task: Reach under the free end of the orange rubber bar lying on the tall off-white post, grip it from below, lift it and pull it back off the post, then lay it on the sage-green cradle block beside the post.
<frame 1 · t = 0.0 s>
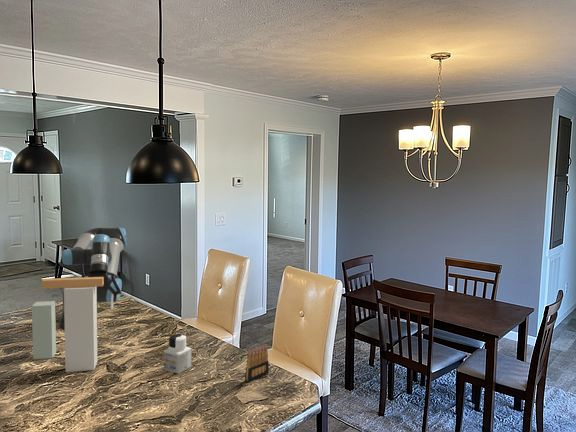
hand: (95, 309, 191), 15 cm above the kitchen island, tool tilted 35°, fingers open, 13 cm apart
bar: (73, 286, 166), point 32 cm above the kitchen island, touching post
post: (82, 366, 169), on the kitchen island
cradle: (44, 355, 178), on the kitchen island
container: (177, 368, 170), on the kitchen island
ammunition clip: (257, 377, 164), on the kitchen island
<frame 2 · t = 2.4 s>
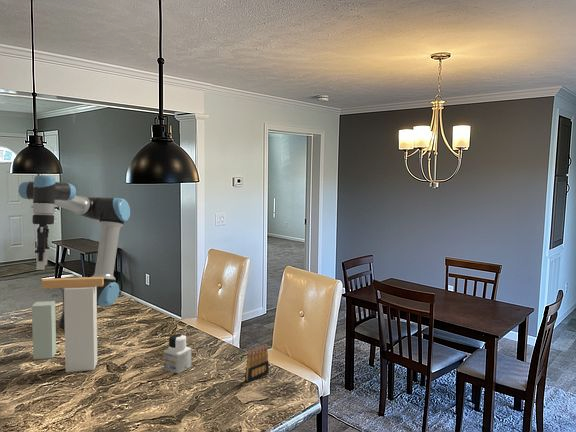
hand: (41, 267, 174), 37 cm above the kitchen island, tool pointing down, fingers open, 13 cm apart
nothing on the kitchen island moved.
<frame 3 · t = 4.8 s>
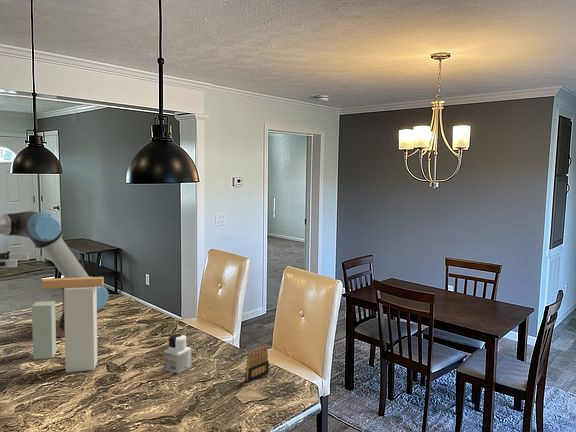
hand: (22, 259, 163), 42 cm above the kitchen island, tool horizontal, fingers open, 13 cm apart
nothing on the kitchen island moved.
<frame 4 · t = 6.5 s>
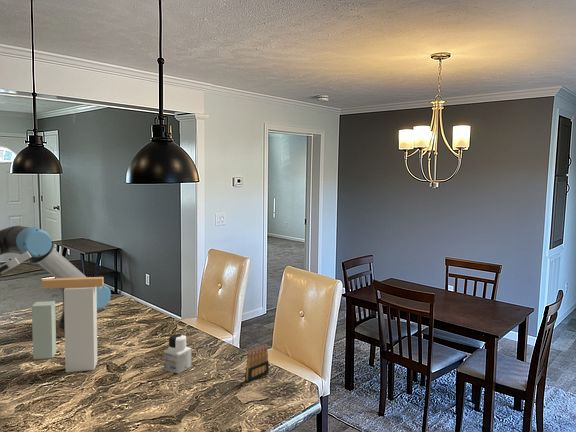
hand: (23, 257, 160), 44 cm above the kitchen island, tool pointing upward, fingers open, 13 cm apart
nothing on the kitchen island moved.
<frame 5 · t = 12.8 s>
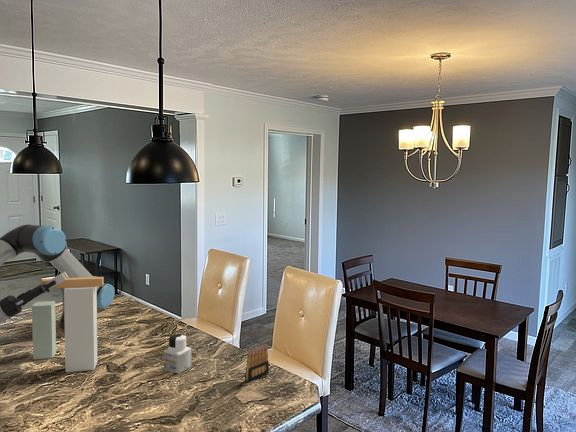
hand: (65, 275, 165), 36 cm above the kitchen island, tool pointing upward, fingers closed on bar, 3 cm apart
bar: (73, 286, 166), point 32 cm above the kitchen island, touching gripper, post
everything else where it was.
when the fingers open (27 cm above the kitchen island, at t = 20.7 s): bar stays where it is, resting on cradle.
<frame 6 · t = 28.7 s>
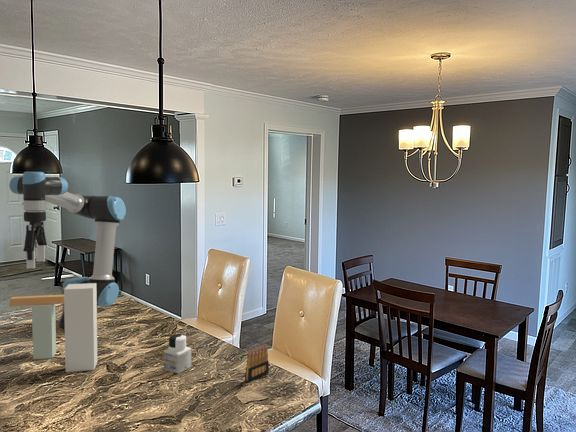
hand: (36, 264, 172), 39 cm above the kitchen island, tool pointing down, fingers open, 13 cm apart
bar: (40, 303, 176), point 22 cm above the kitchen island, touching cradle
everything else where it was.
at the end: bar inside the target area on the cradle (1.1 cm from its centre), point 22.0 cm above the cradle's base; bar touching cradle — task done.
